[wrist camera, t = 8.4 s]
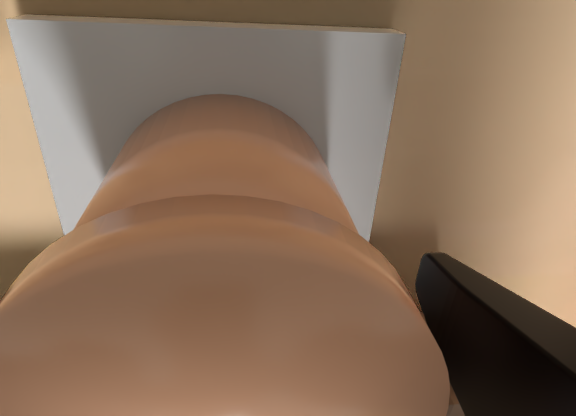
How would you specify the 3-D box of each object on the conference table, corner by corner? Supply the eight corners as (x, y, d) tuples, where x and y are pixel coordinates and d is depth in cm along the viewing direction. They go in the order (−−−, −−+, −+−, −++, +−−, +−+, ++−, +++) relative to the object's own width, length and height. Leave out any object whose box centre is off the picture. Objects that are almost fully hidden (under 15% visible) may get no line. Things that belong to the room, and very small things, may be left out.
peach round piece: (326, 284, 14) (400, 530, 8) (120, 293, 13) (25, 576, 7) (352, 84, 10) (515, 243, 4) (77, 78, 10) (-177, 262, 4)
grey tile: (349, 289, 15) (356, 309, 14) (96, 301, 14) (87, 322, 13) (392, 28, 11) (405, 33, 10) (25, 14, 10) (5, 18, 9)
